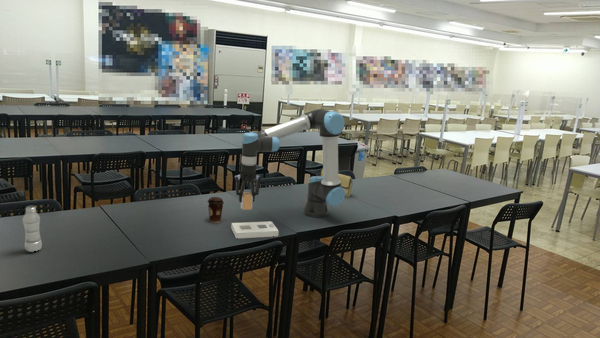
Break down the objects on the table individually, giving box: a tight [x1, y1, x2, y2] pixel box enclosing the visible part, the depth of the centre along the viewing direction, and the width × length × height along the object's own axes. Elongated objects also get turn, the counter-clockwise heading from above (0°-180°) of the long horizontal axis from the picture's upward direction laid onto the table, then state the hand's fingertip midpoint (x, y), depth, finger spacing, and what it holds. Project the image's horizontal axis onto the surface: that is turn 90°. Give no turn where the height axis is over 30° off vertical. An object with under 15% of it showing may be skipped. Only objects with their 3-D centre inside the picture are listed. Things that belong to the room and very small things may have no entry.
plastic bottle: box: [22, 205, 43, 253], centre depth 188 cm, size 6×7×20 cm
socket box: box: [230, 221, 279, 239], centre depth 230 cm, size 22×14×4 cm, turn 109°
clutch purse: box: [317, 168, 353, 198], centre depth 312 cm, size 30×7×15 cm, turn 49°
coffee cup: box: [207, 196, 224, 224], centre depth 241 cm, size 9×8×13 cm
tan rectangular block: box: [242, 191, 252, 211], centre depth 225 cm, size 4×4×8 cm
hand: (246, 207), depth 226 cm, fingers closed on tan rectangular block, 4 cm apart
